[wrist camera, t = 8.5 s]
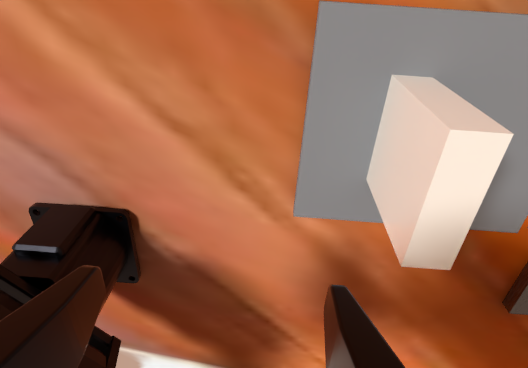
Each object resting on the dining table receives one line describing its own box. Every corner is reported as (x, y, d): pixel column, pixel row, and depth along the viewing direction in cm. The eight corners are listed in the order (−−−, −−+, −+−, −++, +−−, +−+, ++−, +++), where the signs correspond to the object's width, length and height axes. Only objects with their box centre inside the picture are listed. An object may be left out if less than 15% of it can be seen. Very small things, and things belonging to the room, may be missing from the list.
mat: (512, 227, 22) (517, 233, 22) (293, 210, 22) (293, 216, 22) (625, 20, 16) (636, 22, 15) (319, 0, 16) (320, 1, 15)
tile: (402, 182, 20) (452, 270, 14) (366, 179, 20) (401, 266, 14) (434, 77, 17) (516, 134, 11) (391, 74, 17) (450, 129, 11)
